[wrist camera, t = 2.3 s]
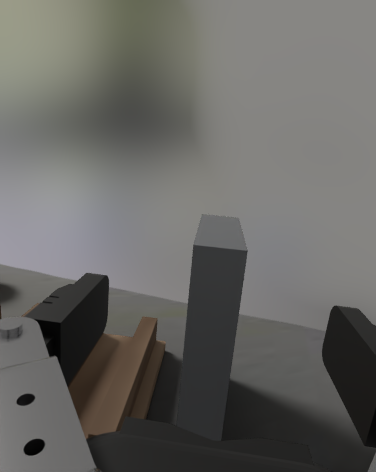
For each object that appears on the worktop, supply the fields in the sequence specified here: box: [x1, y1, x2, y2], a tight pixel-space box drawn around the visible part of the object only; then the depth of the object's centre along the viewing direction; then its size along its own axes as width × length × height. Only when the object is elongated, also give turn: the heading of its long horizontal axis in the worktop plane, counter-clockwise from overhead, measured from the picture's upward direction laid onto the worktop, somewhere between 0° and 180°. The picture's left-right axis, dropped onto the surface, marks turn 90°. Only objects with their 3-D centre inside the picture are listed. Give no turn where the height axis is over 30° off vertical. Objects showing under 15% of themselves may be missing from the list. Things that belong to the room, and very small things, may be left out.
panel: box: [177, 214, 247, 441], centre depth 24 cm, size 3×9×15 cm, turn 174°
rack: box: [0, 303, 166, 439], centre depth 27 cm, size 20×15×4 cm
